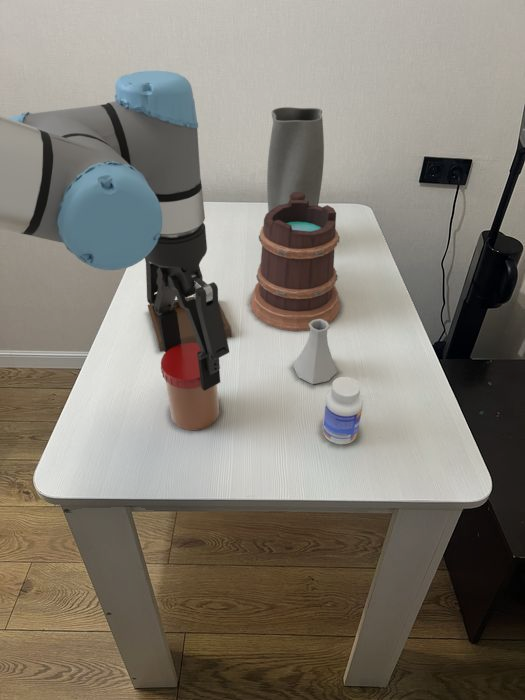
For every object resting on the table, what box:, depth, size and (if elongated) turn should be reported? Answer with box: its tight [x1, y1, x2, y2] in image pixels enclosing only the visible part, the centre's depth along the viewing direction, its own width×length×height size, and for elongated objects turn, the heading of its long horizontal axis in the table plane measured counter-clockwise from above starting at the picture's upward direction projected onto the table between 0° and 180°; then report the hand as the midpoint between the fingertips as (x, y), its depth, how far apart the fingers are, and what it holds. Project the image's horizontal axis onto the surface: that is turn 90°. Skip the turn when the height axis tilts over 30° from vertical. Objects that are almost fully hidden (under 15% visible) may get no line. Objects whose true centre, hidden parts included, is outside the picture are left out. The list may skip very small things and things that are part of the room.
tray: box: [147, 296, 232, 352], centre depth 95 cm, size 14×13×2 cm
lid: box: [160, 343, 201, 389], centre depth 71 cm, size 8×8×2 cm
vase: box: [266, 106, 325, 213], centre depth 111 cm, size 12×12×30 cm
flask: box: [292, 319, 338, 385], centre depth 82 cm, size 7×7×10 cm
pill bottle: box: [321, 376, 364, 445], centre depth 72 cm, size 5×5×10 cm
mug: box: [249, 192, 341, 332], centre depth 96 cm, size 18×23×20 cm
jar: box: [164, 379, 220, 431], centre depth 74 cm, size 8×8×10 cm
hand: (191, 365), depth 72 cm, fingers open, 10 cm apart
